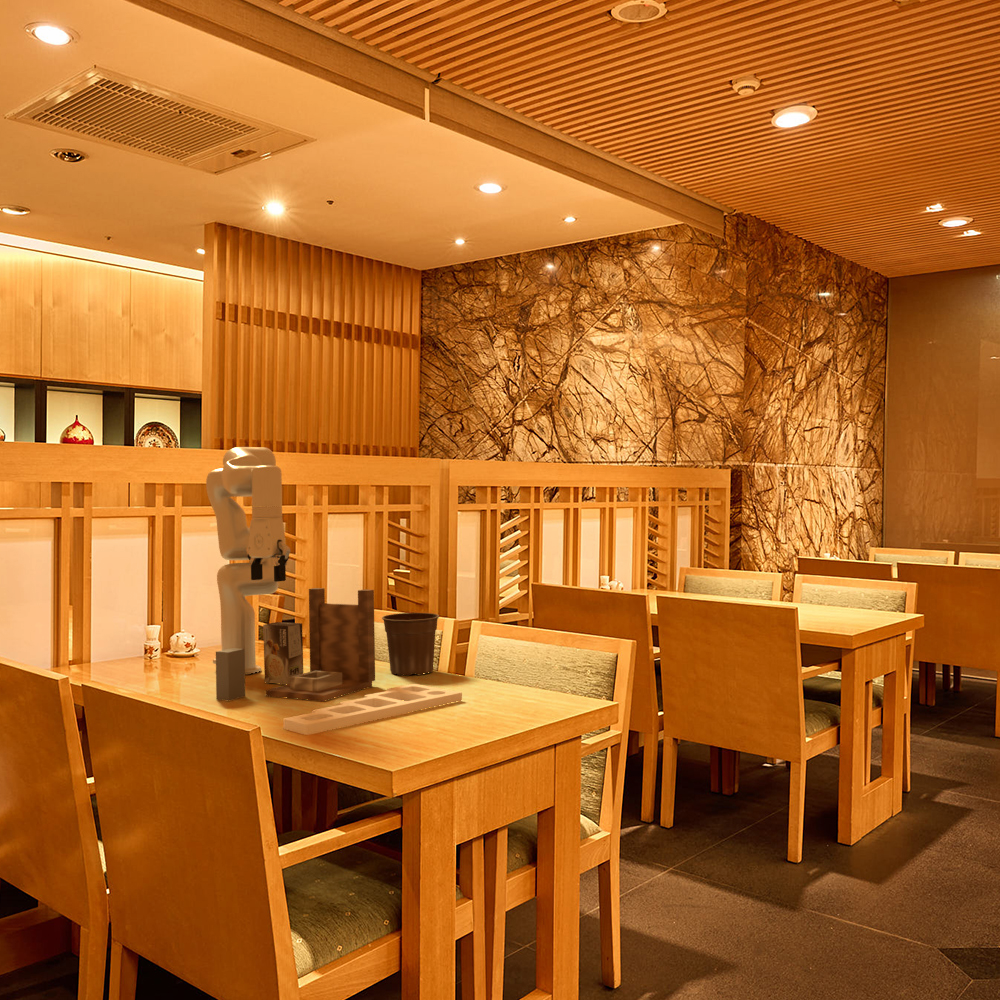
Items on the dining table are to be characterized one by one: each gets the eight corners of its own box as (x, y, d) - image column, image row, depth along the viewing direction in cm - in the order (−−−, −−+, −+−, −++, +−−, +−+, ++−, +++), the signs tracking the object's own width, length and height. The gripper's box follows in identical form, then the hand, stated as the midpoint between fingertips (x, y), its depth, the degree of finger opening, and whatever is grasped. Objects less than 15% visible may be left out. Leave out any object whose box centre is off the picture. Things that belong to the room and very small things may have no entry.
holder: (306, 737, 204) (306, 724, 204) (260, 724, 217) (260, 712, 217) (462, 703, 237) (462, 692, 237) (414, 694, 249) (414, 683, 249)
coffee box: (305, 681, 266) (304, 622, 266) (289, 685, 261) (288, 625, 261) (278, 679, 271) (277, 621, 271) (263, 683, 265) (262, 624, 265)
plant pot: (421, 679, 267) (420, 620, 267) (372, 675, 274) (371, 618, 274) (450, 669, 282) (449, 613, 282) (402, 666, 289) (401, 611, 289)
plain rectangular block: (216, 699, 244) (215, 651, 244) (233, 695, 249) (232, 648, 249) (228, 700, 242) (228, 652, 242) (245, 696, 247) (244, 649, 247)
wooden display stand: (264, 696, 247) (262, 595, 247) (317, 681, 266) (315, 588, 267) (325, 701, 239) (323, 597, 239) (375, 686, 258) (373, 589, 258)
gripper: (234, 514, 253) (236, 580, 253) (275, 513, 242) (276, 582, 242) (259, 513, 259) (260, 578, 259) (300, 513, 247) (301, 580, 247)
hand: (268, 580), depth 250 cm, fingers open, 9 cm apart
